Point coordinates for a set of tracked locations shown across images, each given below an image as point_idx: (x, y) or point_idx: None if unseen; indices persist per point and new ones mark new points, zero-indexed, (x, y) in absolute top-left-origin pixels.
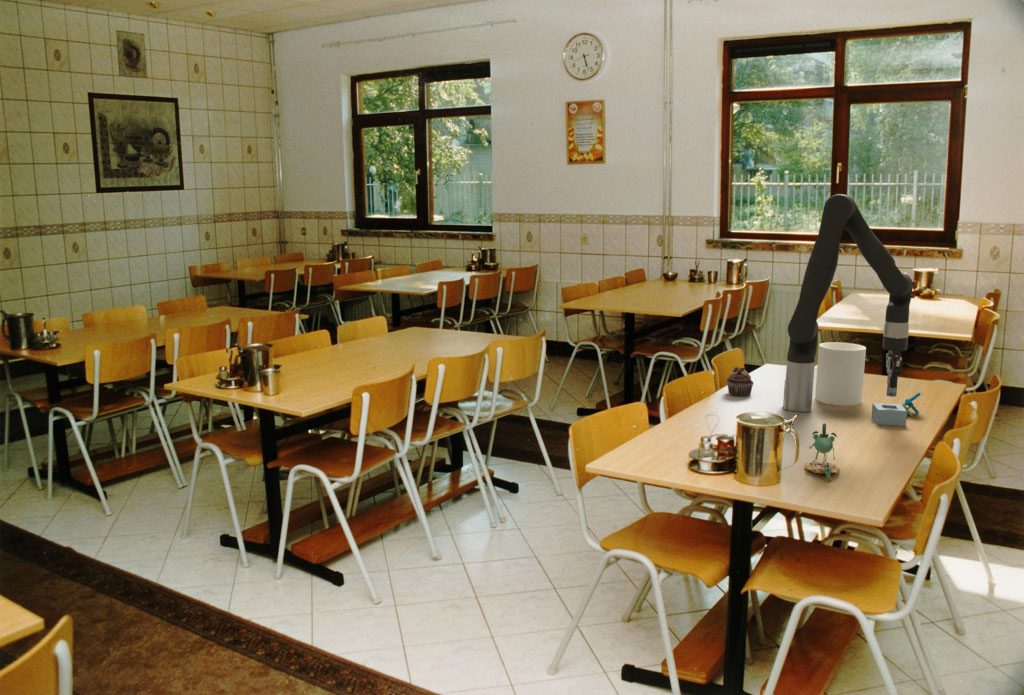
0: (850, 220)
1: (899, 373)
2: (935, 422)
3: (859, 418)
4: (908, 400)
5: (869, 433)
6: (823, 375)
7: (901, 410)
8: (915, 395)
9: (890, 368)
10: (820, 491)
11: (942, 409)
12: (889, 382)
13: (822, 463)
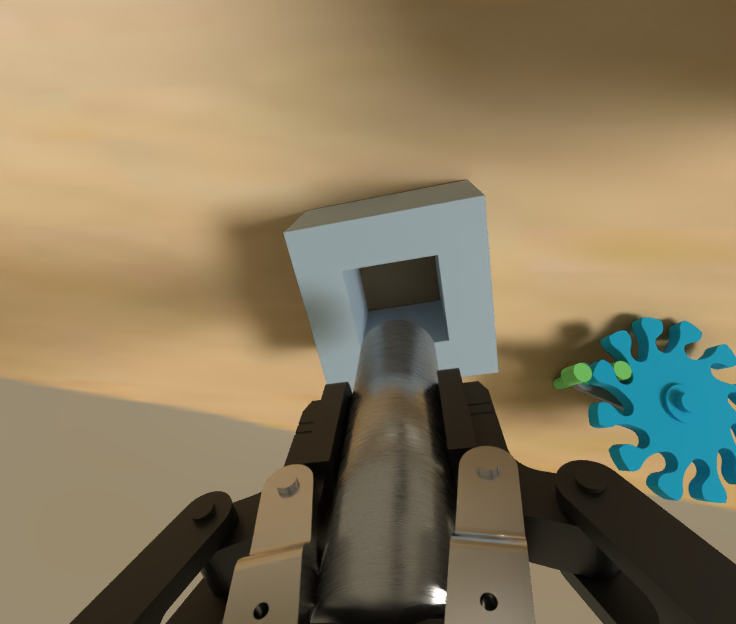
0: None
1: (191, 599)
2: None
3: (408, 102)
4: (666, 412)
5: (89, 174)
6: None
7: (330, 367)
8: (676, 469)
9: (239, 576)
10: None
11: (731, 503)
12: (358, 405)
13: None
